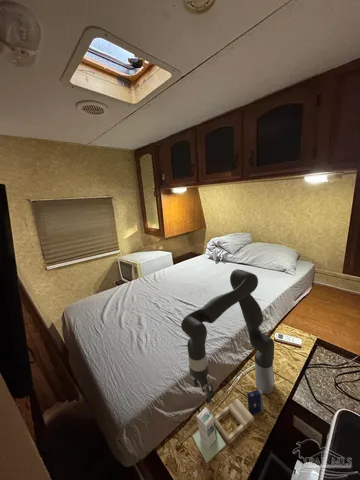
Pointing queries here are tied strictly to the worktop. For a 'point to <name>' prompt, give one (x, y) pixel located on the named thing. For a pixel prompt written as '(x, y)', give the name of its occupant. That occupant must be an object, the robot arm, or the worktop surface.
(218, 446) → the sage mat
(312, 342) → the worktop surface
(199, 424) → the syrup box
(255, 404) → the cassette player
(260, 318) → the robot arm
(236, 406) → the wooden frame
